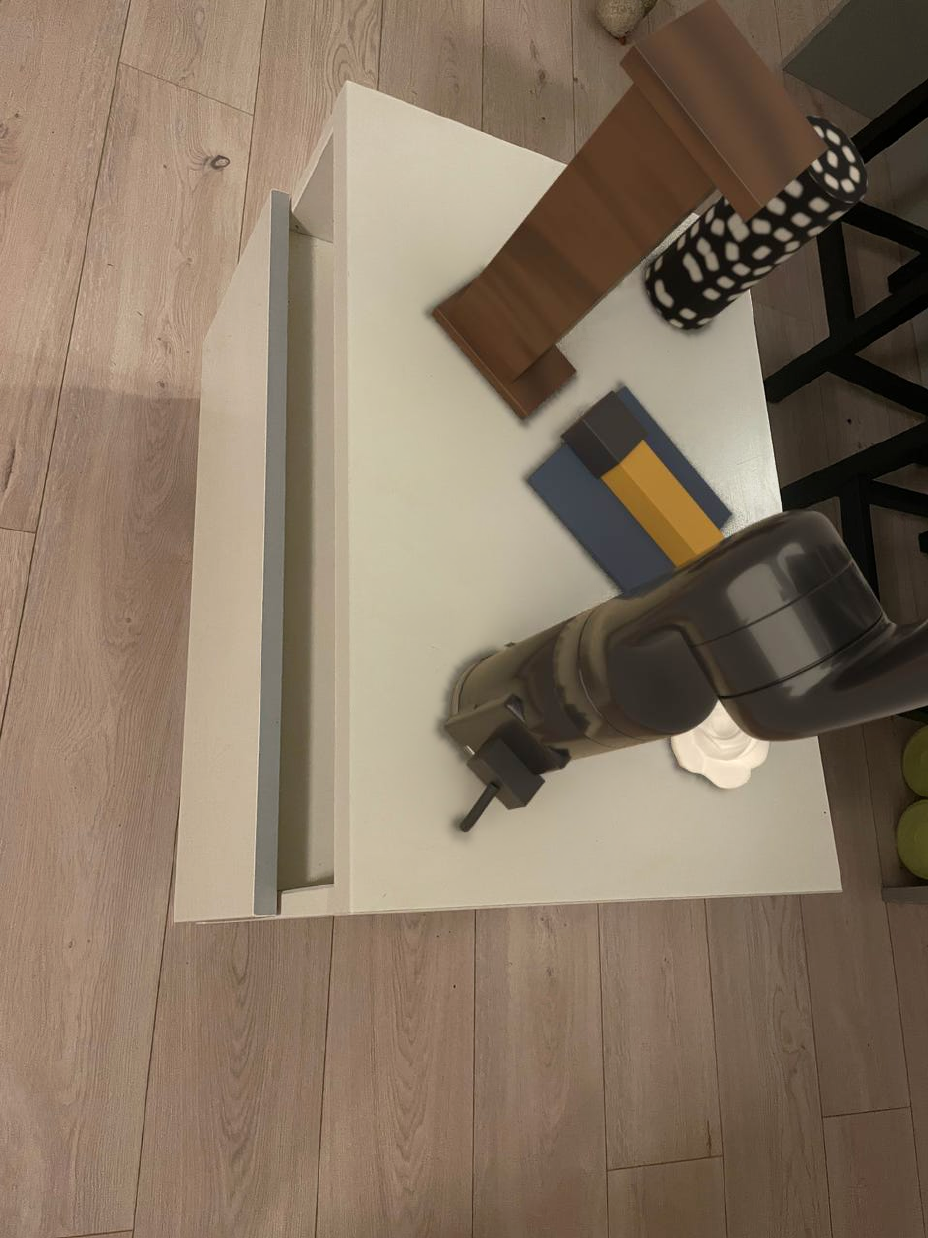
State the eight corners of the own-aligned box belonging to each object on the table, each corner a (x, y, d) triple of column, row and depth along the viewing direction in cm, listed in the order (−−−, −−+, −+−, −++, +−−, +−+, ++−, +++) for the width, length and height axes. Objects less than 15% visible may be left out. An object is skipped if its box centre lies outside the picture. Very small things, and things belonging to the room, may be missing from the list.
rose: (801, 774, 78) (717, 794, 74) (763, 780, 82) (681, 799, 78) (770, 660, 80) (686, 672, 76) (734, 671, 84) (652, 683, 79)
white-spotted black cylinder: (706, 343, 94) (867, 219, 77) (641, 307, 91) (793, 170, 74) (712, 280, 98) (868, 148, 81) (649, 243, 95) (797, 98, 78)
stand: (515, 426, 80) (762, 207, 55) (423, 318, 79) (633, 43, 54) (577, 371, 85) (829, 147, 60) (491, 268, 84) (713, -5, 59)
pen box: (703, 604, 84) (730, 593, 81) (559, 436, 81) (582, 418, 78) (728, 572, 86) (755, 560, 83) (589, 407, 84) (612, 389, 81)
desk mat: (645, 618, 81) (649, 616, 81) (526, 480, 79) (529, 477, 79) (728, 516, 89) (732, 513, 89) (621, 388, 87) (625, 385, 87)
